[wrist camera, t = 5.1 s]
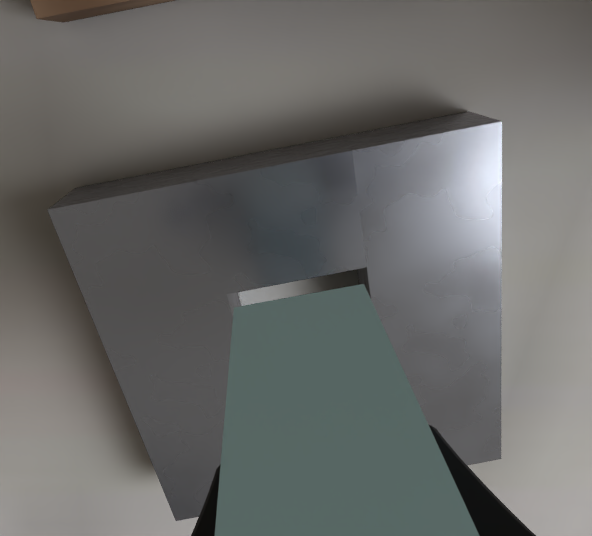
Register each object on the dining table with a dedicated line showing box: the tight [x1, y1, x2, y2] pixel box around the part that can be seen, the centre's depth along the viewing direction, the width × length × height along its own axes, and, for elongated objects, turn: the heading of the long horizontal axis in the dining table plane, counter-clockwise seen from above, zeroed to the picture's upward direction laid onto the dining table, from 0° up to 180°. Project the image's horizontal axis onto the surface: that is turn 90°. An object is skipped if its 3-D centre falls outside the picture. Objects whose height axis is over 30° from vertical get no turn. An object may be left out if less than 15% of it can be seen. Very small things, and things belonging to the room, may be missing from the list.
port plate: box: [48, 112, 502, 521], centre depth 19 cm, size 14×14×2 cm
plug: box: [215, 284, 479, 536], centre depth 10 cm, size 3×4×7 cm
